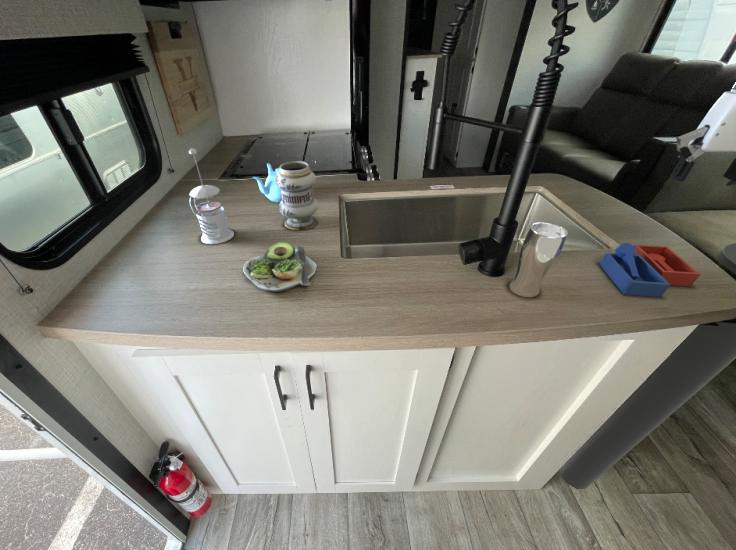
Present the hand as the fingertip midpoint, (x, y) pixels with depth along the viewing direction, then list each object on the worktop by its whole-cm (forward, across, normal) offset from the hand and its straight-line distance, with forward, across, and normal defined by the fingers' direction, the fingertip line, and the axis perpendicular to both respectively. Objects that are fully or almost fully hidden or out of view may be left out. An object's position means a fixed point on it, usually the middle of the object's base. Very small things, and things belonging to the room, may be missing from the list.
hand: (703, 179), depth 69 cm
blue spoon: (+18, +10, +6) cm, 21 cm away
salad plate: (+18, +92, +16) cm, 95 cm away
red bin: (+20, +1, +5) cm, 21 cm away
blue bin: (+20, +10, +10) cm, 24 cm away
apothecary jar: (+18, +94, -11) cm, 96 cm away
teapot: (+17, +107, -32) cm, 113 cm away
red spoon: (+20, +1, +5) cm, 20 cm away
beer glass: (+19, +34, +16) cm, 43 cm away
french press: (+17, +118, -1) cm, 119 cm away
